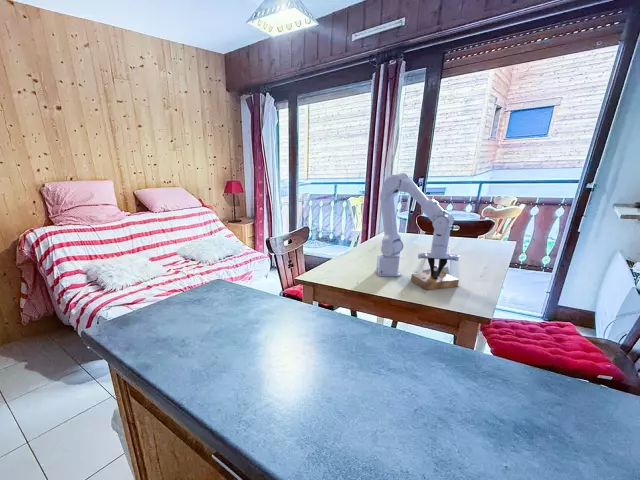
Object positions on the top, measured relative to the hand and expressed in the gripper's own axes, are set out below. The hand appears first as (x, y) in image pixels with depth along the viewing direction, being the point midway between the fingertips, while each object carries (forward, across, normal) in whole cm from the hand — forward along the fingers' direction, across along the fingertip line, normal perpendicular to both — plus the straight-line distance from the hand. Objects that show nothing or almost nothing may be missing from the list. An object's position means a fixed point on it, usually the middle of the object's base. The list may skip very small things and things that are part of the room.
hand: (434, 275), depth 137 cm
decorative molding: (+4, -3, -26) cm, 27 cm away
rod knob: (0, 0, 0) cm, 0 cm away
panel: (+3, 0, 0) cm, 3 cm away
